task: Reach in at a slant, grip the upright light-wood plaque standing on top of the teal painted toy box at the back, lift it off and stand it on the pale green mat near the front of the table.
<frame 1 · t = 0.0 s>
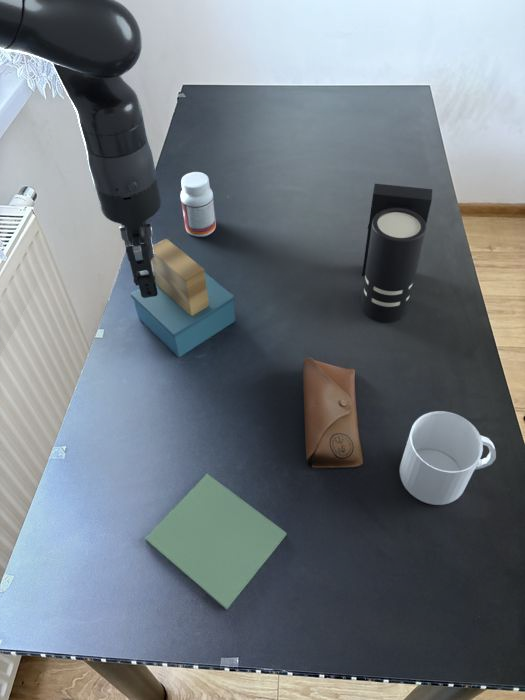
hand: (147, 274, 84), 18 cm above the table, tool pointing down, fingers open, 8 cm apart
sunglasses case: (331, 416, 90), on the table
light fixture: (385, 295, 106), on the table
mat: (216, 537, 78), on the table
toy box: (186, 319, 103), on the table
pill bottle: (201, 228, 119), on the table
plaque: (182, 295, 99), point 6 cm above the table, touching toy box
mug: (442, 477, 83), on the table
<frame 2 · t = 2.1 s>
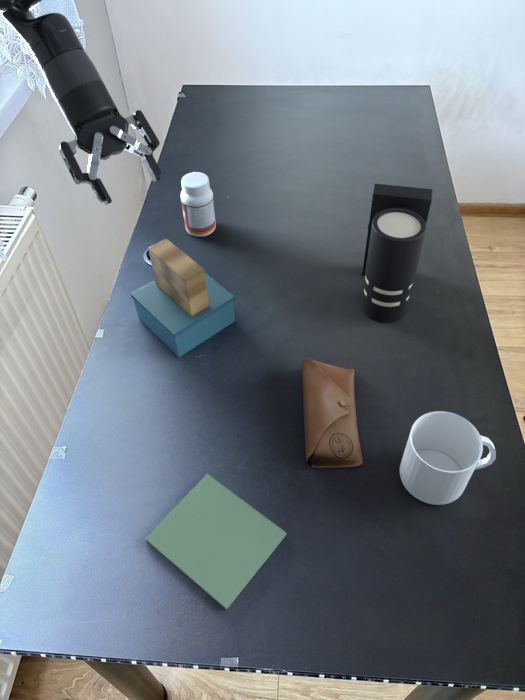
hand: (133, 191, 92), 21 cm above the table, tool tilted 40°, fingers open, 8 cm apart
nothing on the table moved.
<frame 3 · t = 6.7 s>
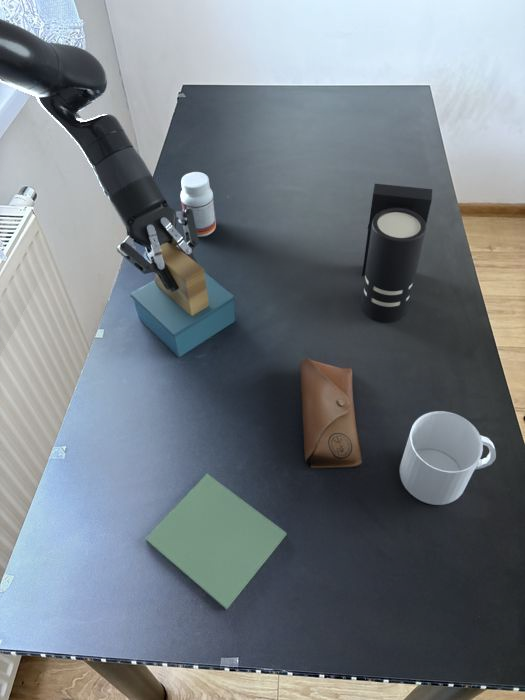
hand: (186, 283, 95), 10 cm above the table, tool tilted 45°, fingers closed on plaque, 3 cm apart
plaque: (182, 295, 99), point 6 cm above the table, touching gripper, toy box
everything else where it was.
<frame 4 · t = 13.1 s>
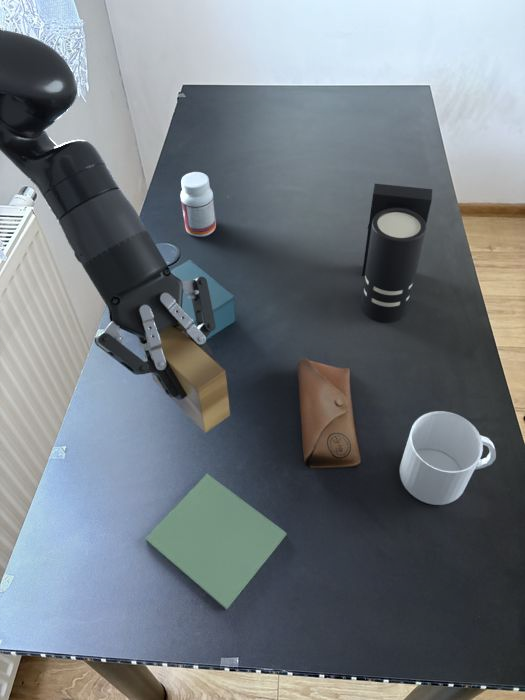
hand: (197, 386, 64), 24 cm above the table, tool tilted 45°, fingers closed on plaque, 3 cm apart
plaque: (190, 397, 68), point 20 cm above the table, touching gripper
everything else where it was.
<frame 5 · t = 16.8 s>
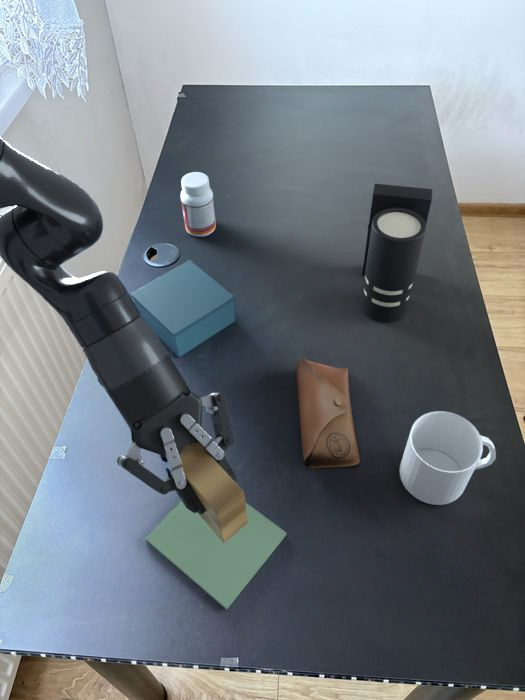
hand: (216, 498, 66), 14 cm above the table, tool tilted 45°, fingers closed on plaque, 3 cm apart
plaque: (209, 502, 70), point 10 cm above the table, touching gripper
everything else where it was.
when the fingers open (5 cm above the table, at t = 19.7 s): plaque stays where it is, resting on mat.
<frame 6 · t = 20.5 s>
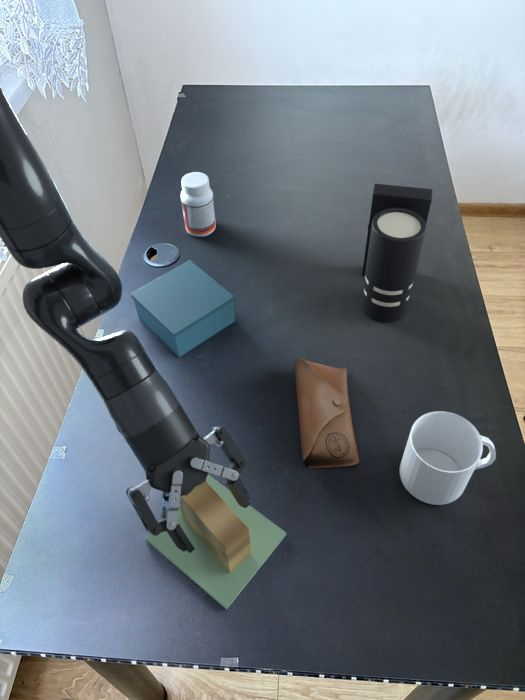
hand: (218, 527, 73), 6 cm above the table, tool tilted 45°, fingers open, 8 cm apart
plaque: (216, 535, 78), point 1 cm above the table, touching mat
everything else where it was.
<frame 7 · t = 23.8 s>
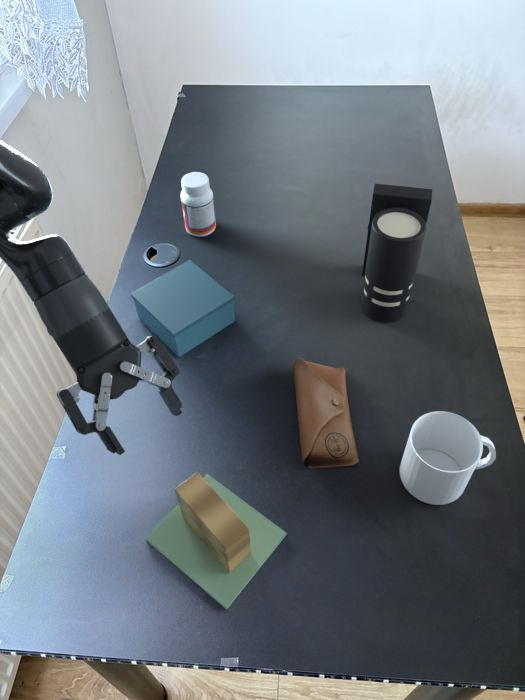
hand: (150, 433, 75), 12 cm above the table, tool tilted 45°, fingers open, 8 cm apart
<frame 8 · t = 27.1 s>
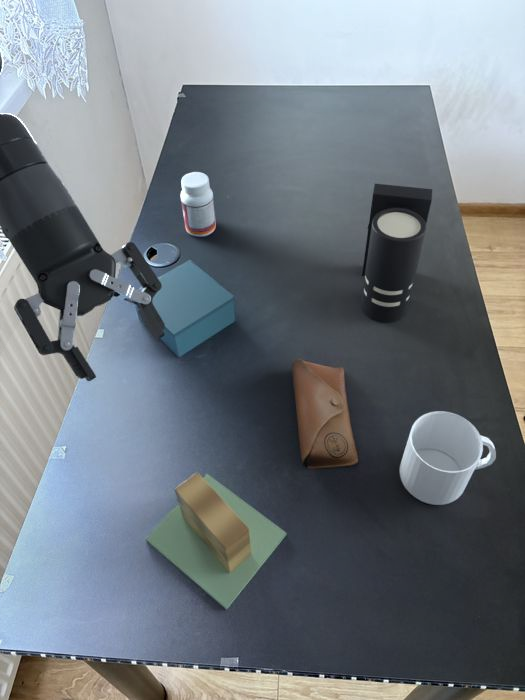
hand: (127, 357, 63), 27 cm above the table, tool tilted 45°, fingers open, 8 cm apart
at the end: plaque inside the target area on the mat (0.1 cm from its centre), point 0.6 cm above the mat's base; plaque tilted 0°; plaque touching mat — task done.
